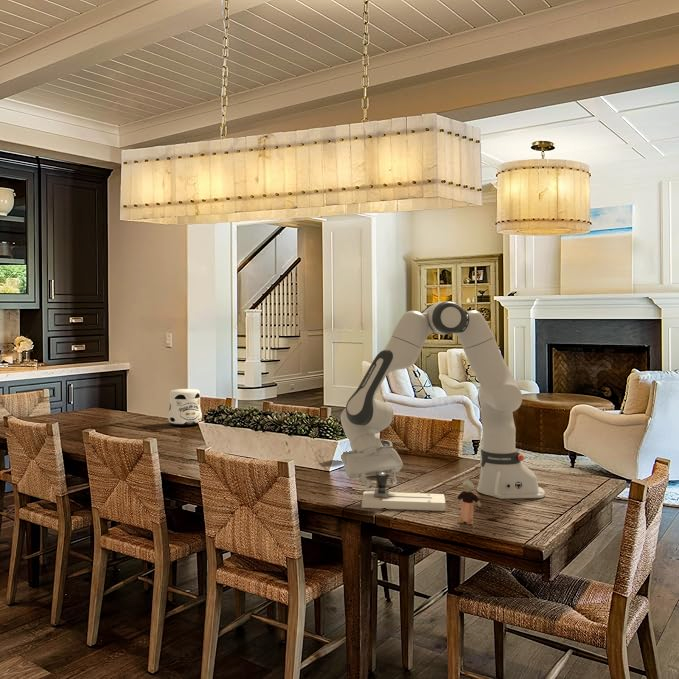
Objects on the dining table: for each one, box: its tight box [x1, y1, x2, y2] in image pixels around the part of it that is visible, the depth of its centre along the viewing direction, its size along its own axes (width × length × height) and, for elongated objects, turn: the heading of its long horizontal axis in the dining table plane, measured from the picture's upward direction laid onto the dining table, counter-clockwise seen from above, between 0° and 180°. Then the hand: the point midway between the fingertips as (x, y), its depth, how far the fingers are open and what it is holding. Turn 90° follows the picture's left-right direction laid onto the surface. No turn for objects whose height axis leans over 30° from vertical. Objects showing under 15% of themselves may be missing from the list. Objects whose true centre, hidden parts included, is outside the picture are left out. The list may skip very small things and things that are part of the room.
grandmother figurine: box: [455, 479, 482, 525], centre depth 203 cm, size 8×4×13 cm, turn 69°
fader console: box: [361, 490, 446, 512], centre depth 221 cm, size 26×10×3 cm, turn 84°
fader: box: [373, 472, 390, 497], centre depth 221 cm, size 4×4×7 cm
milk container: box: [167, 388, 203, 427], centre depth 363 cm, size 17×17×18 cm
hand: (382, 485), depth 221 cm, fingers open, 8 cm apart
